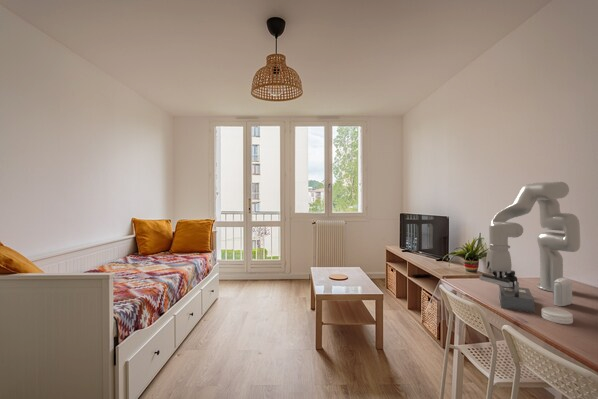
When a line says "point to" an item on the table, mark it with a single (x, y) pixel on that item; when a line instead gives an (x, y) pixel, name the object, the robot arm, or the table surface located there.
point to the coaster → (557, 315)
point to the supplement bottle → (511, 277)
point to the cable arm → (496, 280)
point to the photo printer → (562, 292)
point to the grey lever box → (516, 298)
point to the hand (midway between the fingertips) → (499, 284)
